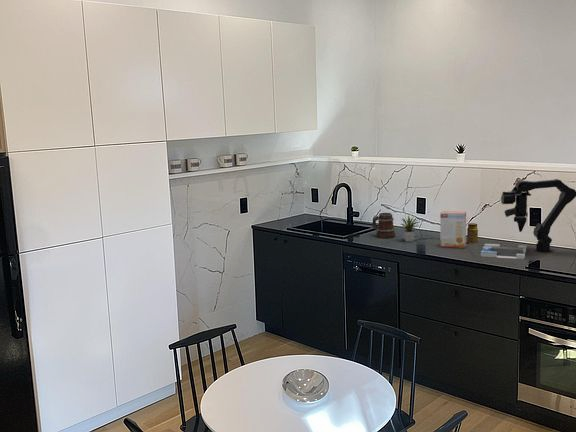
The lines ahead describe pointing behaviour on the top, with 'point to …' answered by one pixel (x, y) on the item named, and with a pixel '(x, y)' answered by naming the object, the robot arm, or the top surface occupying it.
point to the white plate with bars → (489, 253)
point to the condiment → (472, 233)
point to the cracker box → (453, 229)
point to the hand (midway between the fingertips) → (520, 231)
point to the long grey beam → (507, 251)
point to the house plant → (409, 229)
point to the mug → (384, 225)
